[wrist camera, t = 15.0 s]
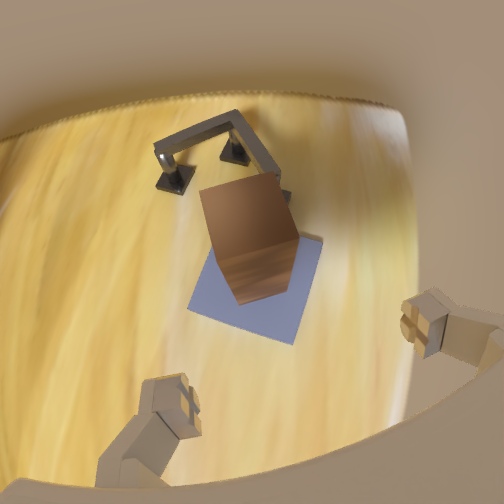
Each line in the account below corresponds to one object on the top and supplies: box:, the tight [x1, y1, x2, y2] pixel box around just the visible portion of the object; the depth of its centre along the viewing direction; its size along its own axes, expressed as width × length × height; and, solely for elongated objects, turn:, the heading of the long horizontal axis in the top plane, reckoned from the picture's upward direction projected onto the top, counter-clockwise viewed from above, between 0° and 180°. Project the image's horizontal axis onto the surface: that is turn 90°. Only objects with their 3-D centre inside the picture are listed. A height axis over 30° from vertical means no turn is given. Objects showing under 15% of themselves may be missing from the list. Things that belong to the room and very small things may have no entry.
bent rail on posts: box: [153, 109, 291, 206], centre depth 27 cm, size 13×8×6 cm, turn 71°
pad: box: [187, 236, 323, 345], centre depth 25 cm, size 9×9×1 cm
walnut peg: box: [199, 171, 300, 306], centre depth 20 cm, size 4×4×11 cm
